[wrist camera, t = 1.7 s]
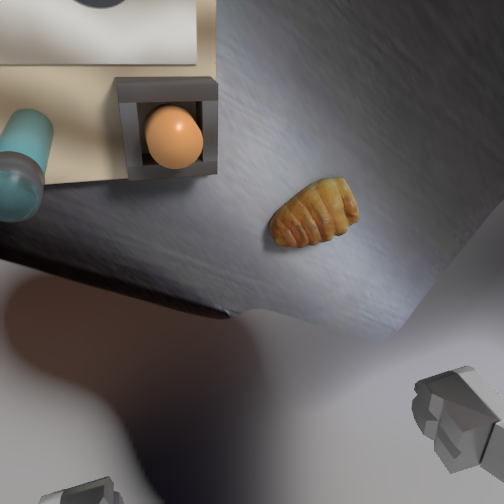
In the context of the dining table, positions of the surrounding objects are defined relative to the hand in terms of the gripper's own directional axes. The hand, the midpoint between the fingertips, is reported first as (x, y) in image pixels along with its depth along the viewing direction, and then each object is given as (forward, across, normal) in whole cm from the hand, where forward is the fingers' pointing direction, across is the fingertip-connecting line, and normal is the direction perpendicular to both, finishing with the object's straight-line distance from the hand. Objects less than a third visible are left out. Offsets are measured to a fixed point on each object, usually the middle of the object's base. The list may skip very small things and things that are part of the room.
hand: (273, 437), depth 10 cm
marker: (+27, +10, -3) cm, 29 cm away
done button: (+27, 0, -1) cm, 27 cm away
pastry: (+31, -13, +11) cm, 36 cm away
